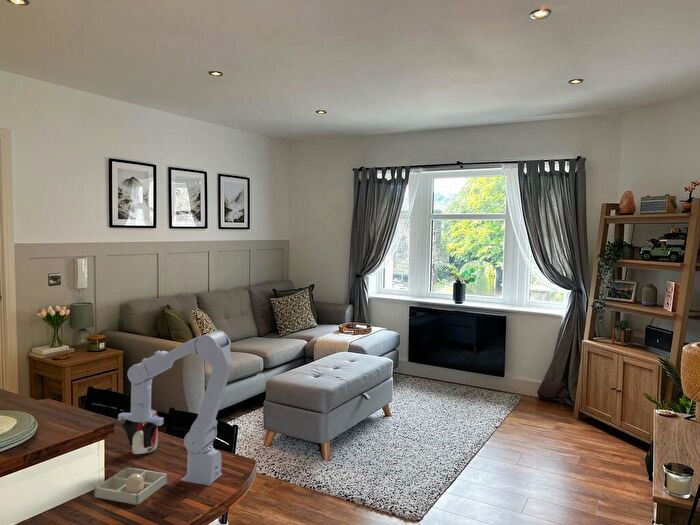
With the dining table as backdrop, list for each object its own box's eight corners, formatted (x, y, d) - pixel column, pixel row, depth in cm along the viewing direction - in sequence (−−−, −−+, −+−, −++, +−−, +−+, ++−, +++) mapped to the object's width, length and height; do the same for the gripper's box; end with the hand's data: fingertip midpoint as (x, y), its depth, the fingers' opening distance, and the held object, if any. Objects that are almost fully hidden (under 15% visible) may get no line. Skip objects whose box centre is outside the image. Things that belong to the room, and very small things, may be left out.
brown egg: (146, 494, 141) (147, 471, 140) (136, 501, 136) (137, 478, 136) (132, 491, 142) (133, 469, 141) (122, 499, 137) (122, 476, 137)
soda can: (141, 456, 165) (142, 417, 165) (129, 450, 170) (131, 412, 169) (161, 450, 171) (162, 412, 171) (149, 444, 175) (150, 407, 175)
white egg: (150, 449, 158) (151, 429, 157) (141, 454, 153) (142, 434, 153) (138, 447, 159) (138, 427, 158) (129, 452, 154) (129, 432, 154)
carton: (167, 483, 148) (167, 473, 148) (137, 506, 135) (137, 495, 135) (127, 476, 151) (127, 467, 151) (94, 498, 138) (94, 487, 138)
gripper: (169, 400, 158) (168, 443, 158) (129, 395, 161) (128, 438, 161) (155, 407, 151) (154, 452, 151) (113, 402, 154) (112, 446, 155)
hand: (140, 445), depth 156 cm, fingers closed on white egg, 4 cm apart
